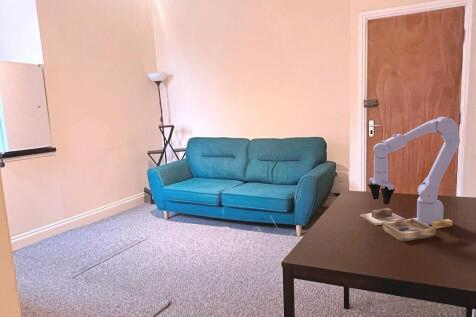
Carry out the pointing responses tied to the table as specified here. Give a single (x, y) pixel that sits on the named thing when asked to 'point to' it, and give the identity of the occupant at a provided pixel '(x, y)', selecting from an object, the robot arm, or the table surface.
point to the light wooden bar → (442, 223)
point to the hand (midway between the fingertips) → (381, 201)
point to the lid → (381, 216)
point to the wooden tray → (408, 229)
